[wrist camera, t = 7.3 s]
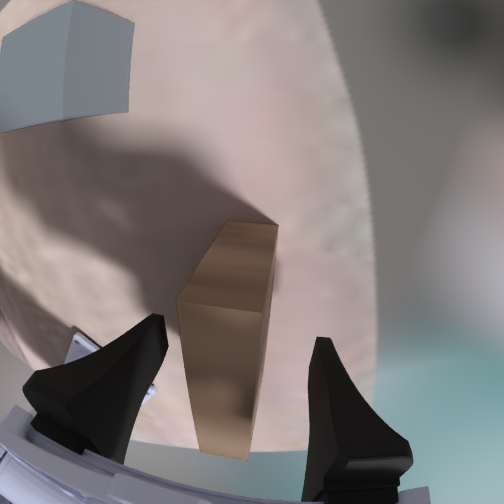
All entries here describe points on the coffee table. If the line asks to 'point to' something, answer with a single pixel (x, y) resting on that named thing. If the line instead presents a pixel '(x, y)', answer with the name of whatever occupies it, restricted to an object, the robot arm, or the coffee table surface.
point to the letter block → (65, 67)
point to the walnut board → (228, 335)
